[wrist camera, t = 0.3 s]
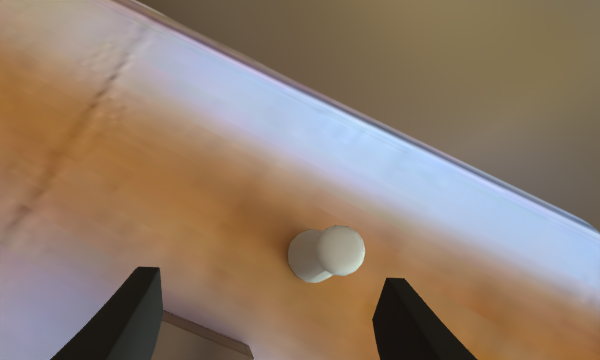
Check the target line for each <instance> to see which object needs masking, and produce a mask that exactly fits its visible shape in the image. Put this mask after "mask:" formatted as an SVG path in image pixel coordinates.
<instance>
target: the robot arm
mask: <svg viewBox="0 0 600 360" xmlns="http://www.w3.org/2000/svg"><path fill="white" fill-rule="evenodd" d="M162 317H163V304H162V291H161V278H160V268H159V267H138V268H136V269H135V270H134V271H133V273H132V274H131V275H130V276H129V277H128V279H127V280H126V281H125V282H124V283H123V284H122V286H121V287H120V288H119V289H118V290H117V291H116V293H115V294H114V295H113V296H112V297H111V298H110V299H109V300H108V302H107V303H106V304H105V305H104V306H103V307H102V308H101V309H100V310H99V311H98V312H97V313H96V315H95V316H94V317H93V318H92V319H91V320H90V321H89V322H88V323H87V324H86V325H85V326H84V327H83V328H82V329H81V330H80V331H79V332H78V333H77V334H76V335H75V336H74V337H73V338H72V339H71V340H70V341H69V342H68V343H67V344H66V345H65V346H64V347H63V348H62V349H61V350H60V351H59V352H58V353H57V354H56V355H55V356H53V357H52V358H51V359H50V360H151V358H152V355H153V352H154V350H155V346H156V342H157V338H158V334H159V330H160V326H161V321H162ZM372 321H373V327H374V333H375V339H376V344H377V349H378V353H379V356H380V360H477V359H476V358H475V357H474V356H473V355H472V354H471V353H470V352H469V351H468V350H467V349H466V348H465V347H464V345H463V344H462V343H461V342H460V341H459V340H458V339H457V338H456V337H455V336H454V335H453V334H452V333H451V332H450V330H449V329H448V328H447V327H446V326H445V325H444V324H443V323H442V322H441V320H440V319H439V318H438V317H437V316H436V315H435V314H434V312H433V311H432V310H431V309H430V308H429V307H428V306H427V304H426V303H425V302H424V301H423V300H422V298H421V297H420V296H419V295H418V294H417V293H416V291H415V290H414V289H413V288H412V287H411V286H410V284H409V283H408V282H407V281H406V280H405V279H404V278H386V281H385V284H384V287H383V290H382V293H381V295H380V298H379V301H378V304H377V307H376V310H375V313H374V316H373V319H372Z"/></svg>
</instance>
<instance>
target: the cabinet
mask: <svg viewBox="0 0 600 360" xmlns="http://www.w3.org/2000/svg"><path fill="white" fill-rule="evenodd" d="M253 359H254V357H253V355H252V352H251V350H250V347H249V346H248V345H246V344H243V343H241V342H239V341H236V340H234V339H231V338H229V337H227V336H224V335H222V334H220V333H217V332H215V331H212V330H210V329H208V328H205V327H203V326H200V325H198V324H196V323H193V322H191V321H188V320H186V319H184V318H181V317H179V316H176V315H174V314H172V313H169V312H167V311H164V310H163V317H162V321H161V326H160V330H159V334H158V338H157V342H156V346H155V350H154V352H153V355H152V358H151V360H253Z"/></svg>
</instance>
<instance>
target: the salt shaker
mask: <svg viewBox="0 0 600 360" xmlns="http://www.w3.org/2000/svg"><path fill="white" fill-rule="evenodd" d="M364 254H365V248H364V243H363V240H362V239H361V237H360V236H359V234H358V233H357V232H356V231H355V230H353V229H351V228H350V227H347V226H339V225H335V226H332V227H330V228H327V229H325V230H324V231H321V230H311V229H309V230H306V231H304V232H301V233H299V234H298V235H297V236H296V237H295V238H294V239H293V240H292V241H291V243H290V246H289V250H288V262H289V266H290V268H291V269H292V271H293V272H294V274H295V275H296V276H297V277H299V278H300V279H302V280H304V281H305V282H317V283H318V282H320V281H323V280H325V279H327V278H329V277H330V276H332V275H342V276H345V275H347V274H349V273H352V272H354V271H356V270H357V269H358V267H359V266H360V265H361V263H362V262H363V258H364Z"/></svg>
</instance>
